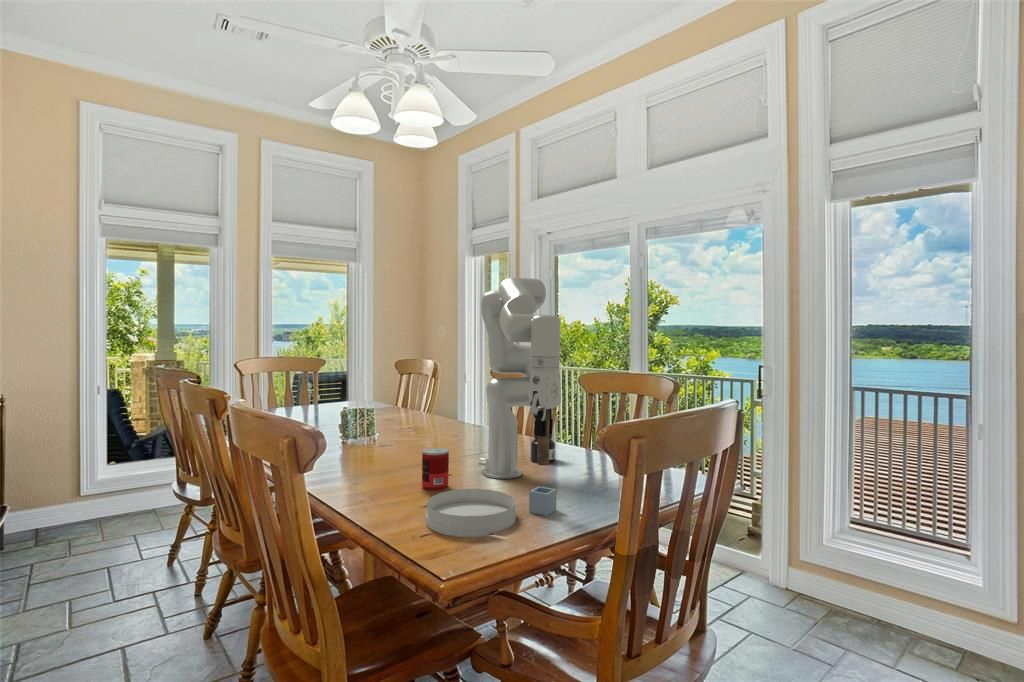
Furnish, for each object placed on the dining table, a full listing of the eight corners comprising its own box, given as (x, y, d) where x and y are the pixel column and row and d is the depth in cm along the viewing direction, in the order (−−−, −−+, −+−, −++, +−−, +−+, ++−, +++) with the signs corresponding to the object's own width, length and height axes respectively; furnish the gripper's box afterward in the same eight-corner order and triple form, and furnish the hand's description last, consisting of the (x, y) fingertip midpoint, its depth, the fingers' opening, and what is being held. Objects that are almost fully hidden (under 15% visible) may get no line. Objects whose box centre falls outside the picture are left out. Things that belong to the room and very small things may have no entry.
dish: (440, 544, 121) (440, 521, 121) (416, 513, 141) (416, 493, 141) (531, 530, 129) (531, 509, 129) (496, 503, 150) (496, 485, 150)
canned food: (453, 485, 166) (453, 448, 165) (438, 492, 158) (439, 454, 158) (431, 481, 169) (432, 446, 169) (416, 488, 162) (417, 451, 161)
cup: (529, 514, 140) (529, 491, 140) (538, 508, 144) (538, 486, 144) (547, 518, 137) (547, 494, 137) (556, 512, 142) (556, 489, 142)
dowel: (535, 464, 141) (536, 410, 140) (540, 461, 143) (541, 408, 143) (545, 466, 139) (546, 411, 139) (550, 463, 142) (551, 409, 141)
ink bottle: (549, 465, 192) (549, 431, 192) (526, 462, 196) (526, 428, 196) (558, 459, 201) (559, 426, 201) (536, 456, 205) (537, 424, 205)
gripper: (544, 366, 131) (542, 442, 132) (570, 362, 146) (569, 431, 146) (516, 364, 135) (515, 438, 136) (545, 360, 149) (543, 428, 150)
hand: (543, 433), depth 141 cm, fingers closed on dowel, 3 cm apart
